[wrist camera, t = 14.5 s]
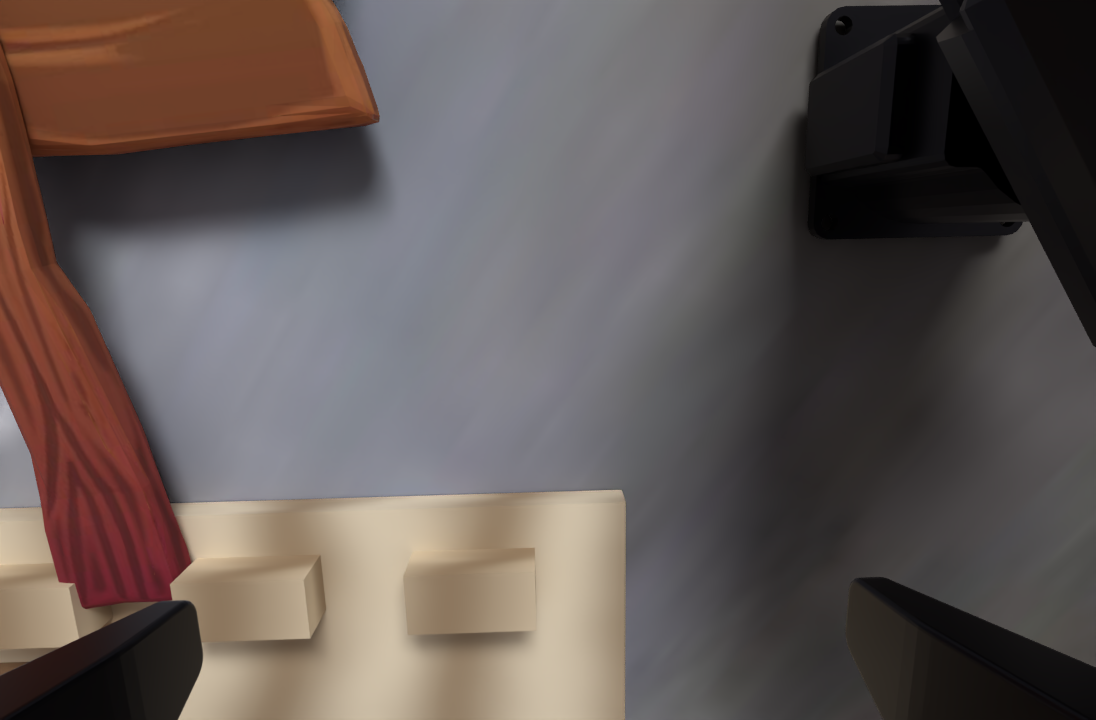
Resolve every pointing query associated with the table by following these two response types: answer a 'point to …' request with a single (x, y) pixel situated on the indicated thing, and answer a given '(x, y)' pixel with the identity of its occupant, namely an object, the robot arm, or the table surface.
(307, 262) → the table surface
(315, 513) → the birch notch board
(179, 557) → the sign
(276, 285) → the table surface
